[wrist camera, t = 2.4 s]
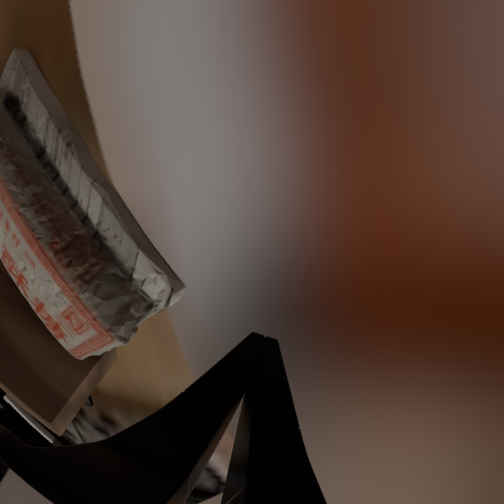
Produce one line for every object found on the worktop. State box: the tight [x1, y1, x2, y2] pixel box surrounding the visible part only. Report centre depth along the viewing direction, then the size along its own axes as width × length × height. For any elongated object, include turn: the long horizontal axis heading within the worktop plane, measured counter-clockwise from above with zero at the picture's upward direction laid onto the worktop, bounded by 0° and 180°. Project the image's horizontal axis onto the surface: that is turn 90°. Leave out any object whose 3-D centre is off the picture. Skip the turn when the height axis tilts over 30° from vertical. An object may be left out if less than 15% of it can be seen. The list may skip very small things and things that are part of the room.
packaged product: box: [0, 48, 187, 360], centre depth 13 cm, size 18×5×10 cm
